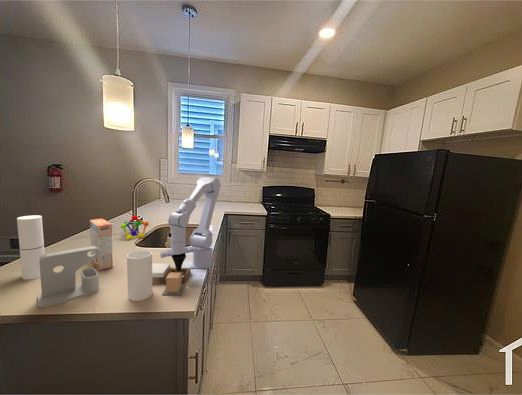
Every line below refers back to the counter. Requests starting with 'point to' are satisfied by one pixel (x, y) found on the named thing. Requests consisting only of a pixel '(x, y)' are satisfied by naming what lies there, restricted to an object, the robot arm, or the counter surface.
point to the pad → (173, 292)
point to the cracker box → (101, 243)
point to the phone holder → (67, 276)
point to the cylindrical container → (30, 245)
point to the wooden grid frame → (163, 279)
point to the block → (173, 282)
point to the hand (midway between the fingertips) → (178, 270)
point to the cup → (139, 275)
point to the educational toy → (133, 234)
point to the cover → (159, 269)
